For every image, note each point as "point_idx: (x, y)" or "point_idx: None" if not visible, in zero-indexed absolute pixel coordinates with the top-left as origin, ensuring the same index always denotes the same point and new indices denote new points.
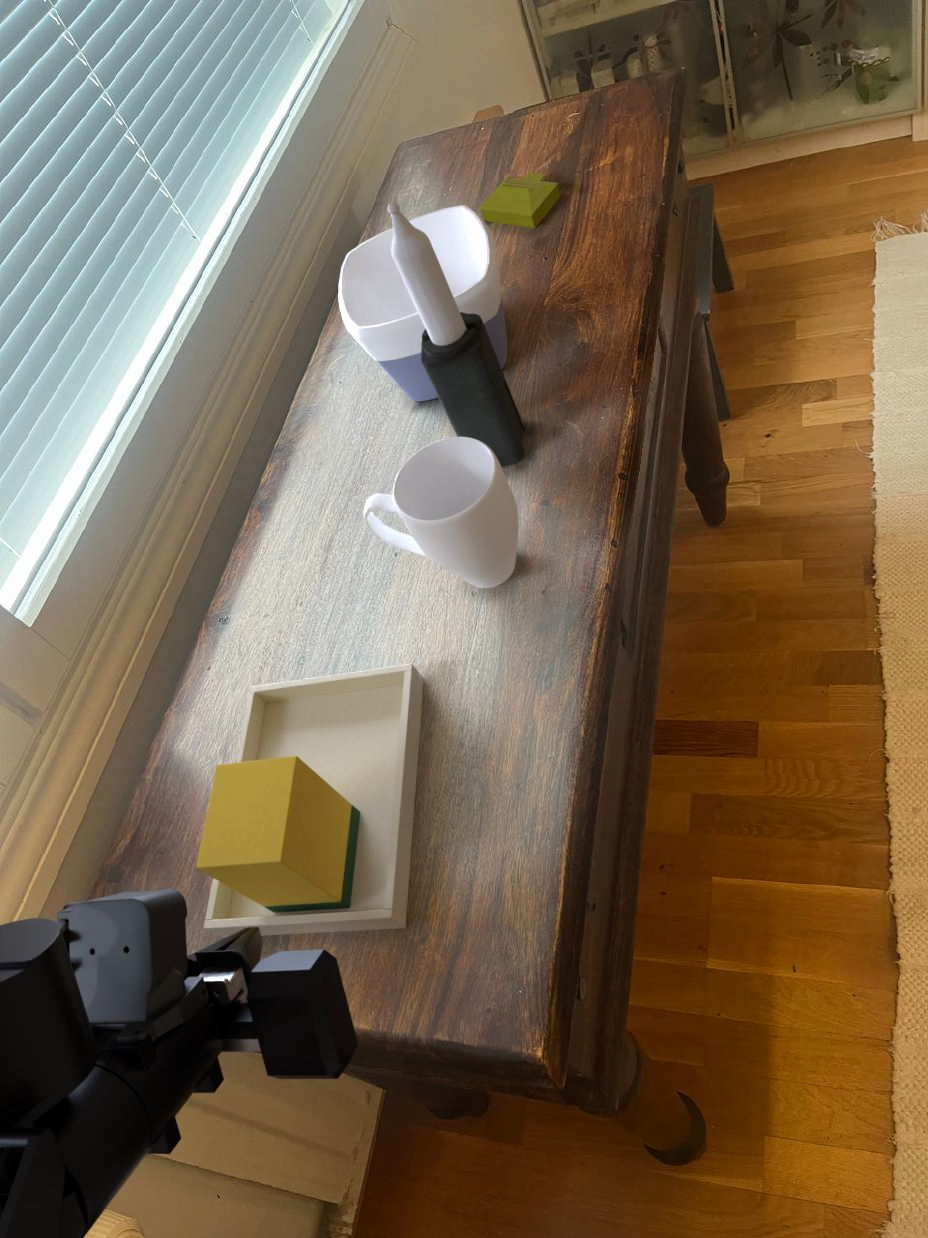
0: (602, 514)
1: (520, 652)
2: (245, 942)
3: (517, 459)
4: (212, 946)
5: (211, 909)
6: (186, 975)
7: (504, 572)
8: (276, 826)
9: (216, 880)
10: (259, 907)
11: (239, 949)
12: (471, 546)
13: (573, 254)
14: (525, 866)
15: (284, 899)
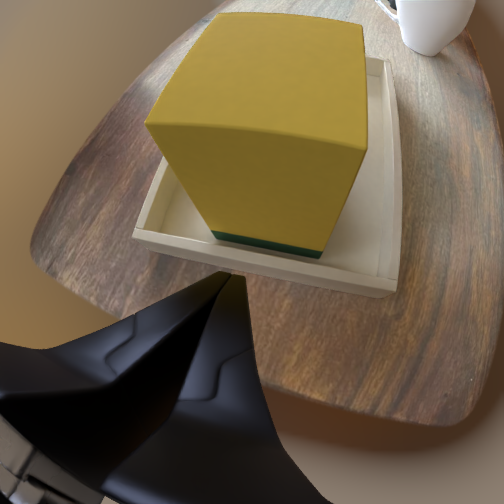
0: (475, 60)
1: (455, 97)
2: (248, 331)
3: None
4: (153, 316)
5: (144, 217)
6: (77, 436)
7: (440, 49)
8: (344, 85)
9: (156, 184)
10: (198, 228)
11: (248, 367)
12: (455, 11)
13: None
14: (486, 264)
15: (251, 229)
